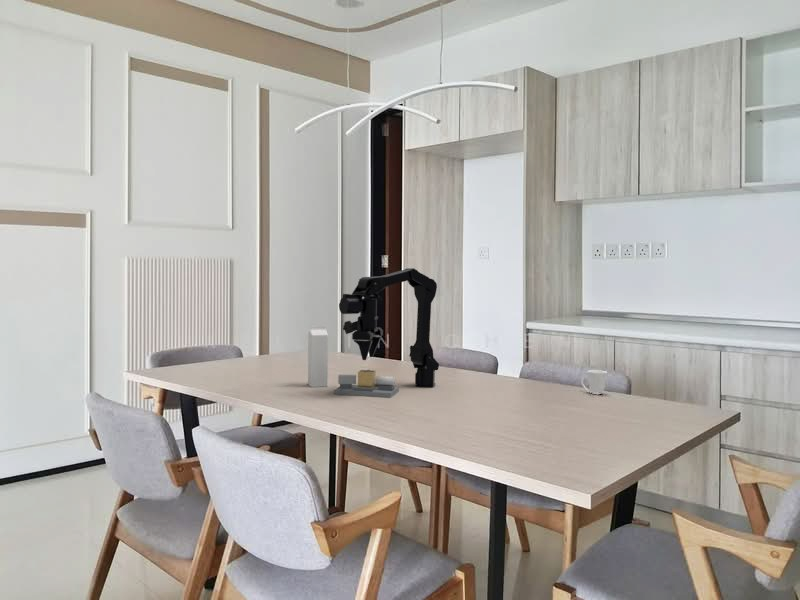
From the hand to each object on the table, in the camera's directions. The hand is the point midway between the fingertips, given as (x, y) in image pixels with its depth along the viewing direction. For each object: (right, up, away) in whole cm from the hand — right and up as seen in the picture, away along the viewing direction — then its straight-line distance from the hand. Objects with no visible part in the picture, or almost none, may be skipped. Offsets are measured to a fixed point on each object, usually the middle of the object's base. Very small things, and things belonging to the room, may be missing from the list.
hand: (367, 358), depth 222 cm
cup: (+80, -13, +6) cm, 81 cm away
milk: (-19, -11, +13) cm, 26 cm away
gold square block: (0, -10, 0) cm, 10 cm away
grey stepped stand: (0, -12, 0) cm, 12 cm away
